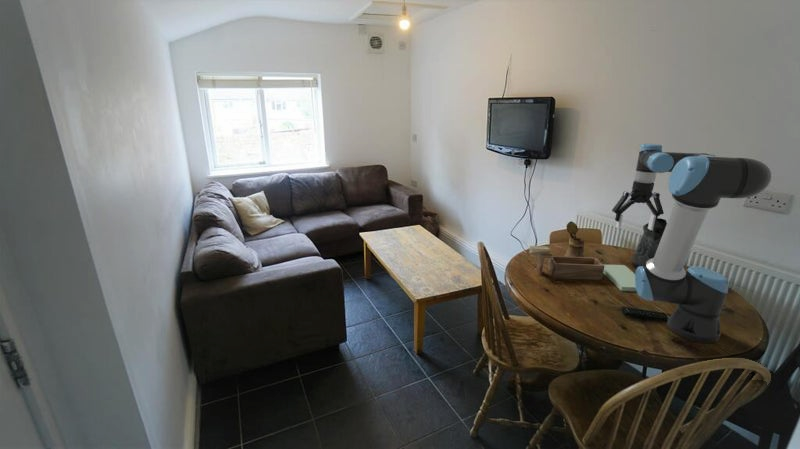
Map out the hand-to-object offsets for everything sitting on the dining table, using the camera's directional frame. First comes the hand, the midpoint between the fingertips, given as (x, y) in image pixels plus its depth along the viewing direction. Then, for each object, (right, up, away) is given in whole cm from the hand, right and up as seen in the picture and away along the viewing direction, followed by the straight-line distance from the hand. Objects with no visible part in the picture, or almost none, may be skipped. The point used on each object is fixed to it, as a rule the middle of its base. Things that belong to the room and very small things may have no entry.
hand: (633, 228), depth 166 cm
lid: (0, -24, +8) cm, 25 cm away
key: (-38, -12, +11) cm, 41 cm away
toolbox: (-23, -21, +13) cm, 34 cm away
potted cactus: (-13, -16, +31) cm, 37 cm away
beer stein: (+20, -20, +19) cm, 34 cm away
